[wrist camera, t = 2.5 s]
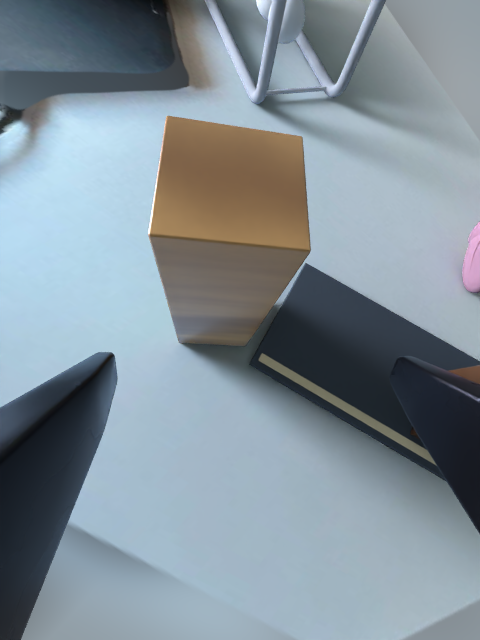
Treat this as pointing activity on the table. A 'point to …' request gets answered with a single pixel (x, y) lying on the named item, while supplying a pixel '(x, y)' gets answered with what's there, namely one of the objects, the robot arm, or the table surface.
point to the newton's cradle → (284, 26)
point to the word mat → (350, 358)
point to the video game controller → (472, 262)
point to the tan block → (227, 226)
